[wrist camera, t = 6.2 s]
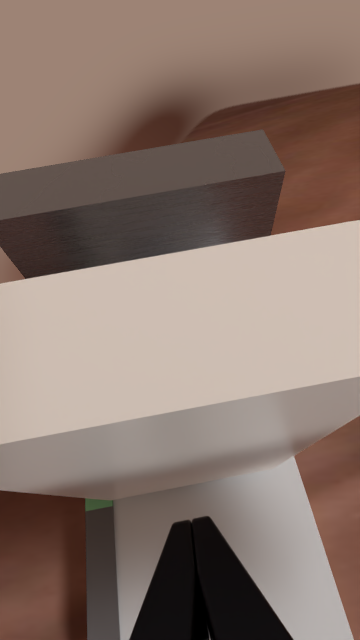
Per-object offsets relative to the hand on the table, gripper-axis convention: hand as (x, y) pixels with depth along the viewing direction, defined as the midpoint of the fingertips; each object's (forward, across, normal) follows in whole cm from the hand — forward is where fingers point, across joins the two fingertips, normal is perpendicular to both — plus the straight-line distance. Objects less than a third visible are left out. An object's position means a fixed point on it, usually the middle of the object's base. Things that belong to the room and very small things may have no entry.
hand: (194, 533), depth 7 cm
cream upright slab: (+6, +1, +1) cm, 6 cm away
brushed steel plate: (+10, 0, -3) cm, 10 cm away
